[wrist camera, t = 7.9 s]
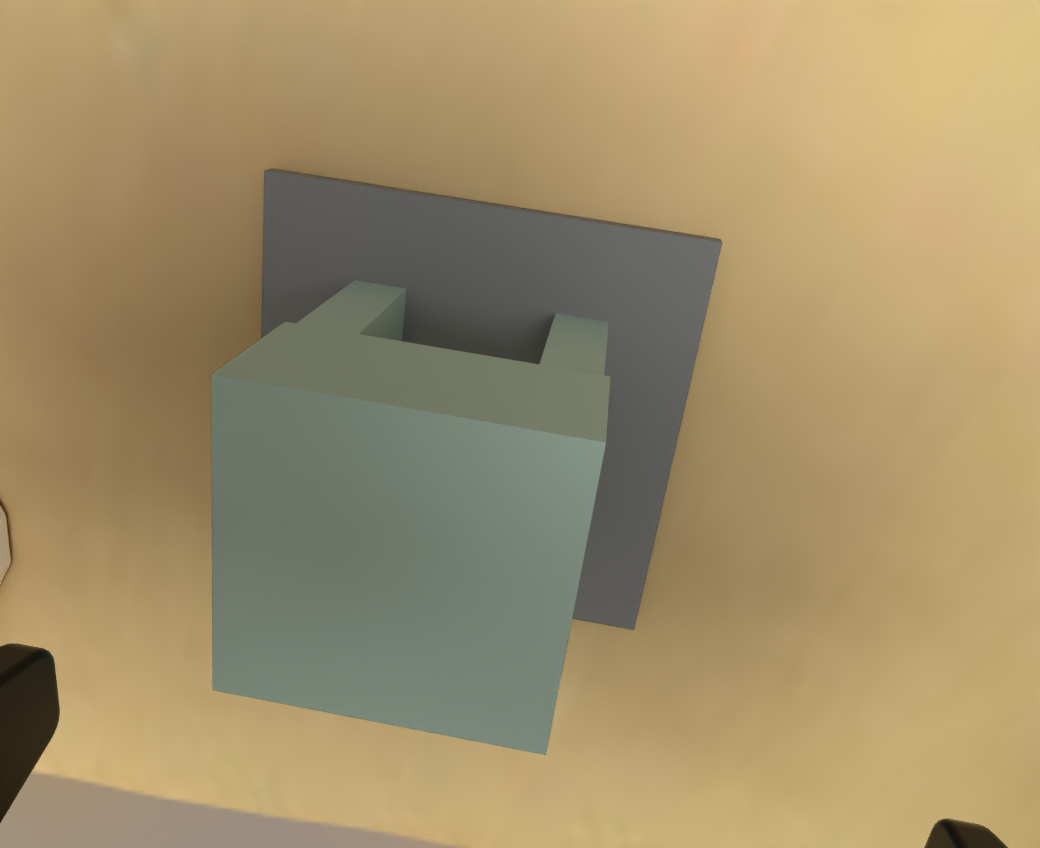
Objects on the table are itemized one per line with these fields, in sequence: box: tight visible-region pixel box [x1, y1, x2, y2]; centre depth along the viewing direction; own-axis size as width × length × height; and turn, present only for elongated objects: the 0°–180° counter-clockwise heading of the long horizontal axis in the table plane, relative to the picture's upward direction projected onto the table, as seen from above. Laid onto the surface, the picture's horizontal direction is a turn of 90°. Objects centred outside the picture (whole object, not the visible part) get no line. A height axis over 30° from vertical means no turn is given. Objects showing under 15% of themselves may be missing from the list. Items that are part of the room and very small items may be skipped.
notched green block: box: [211, 280, 610, 755], centre depth 17 cm, size 6×6×7 cm
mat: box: [261, 169, 722, 630], centre depth 20 cm, size 10×10×1 cm
